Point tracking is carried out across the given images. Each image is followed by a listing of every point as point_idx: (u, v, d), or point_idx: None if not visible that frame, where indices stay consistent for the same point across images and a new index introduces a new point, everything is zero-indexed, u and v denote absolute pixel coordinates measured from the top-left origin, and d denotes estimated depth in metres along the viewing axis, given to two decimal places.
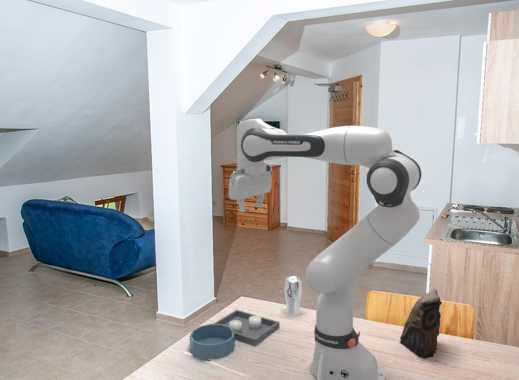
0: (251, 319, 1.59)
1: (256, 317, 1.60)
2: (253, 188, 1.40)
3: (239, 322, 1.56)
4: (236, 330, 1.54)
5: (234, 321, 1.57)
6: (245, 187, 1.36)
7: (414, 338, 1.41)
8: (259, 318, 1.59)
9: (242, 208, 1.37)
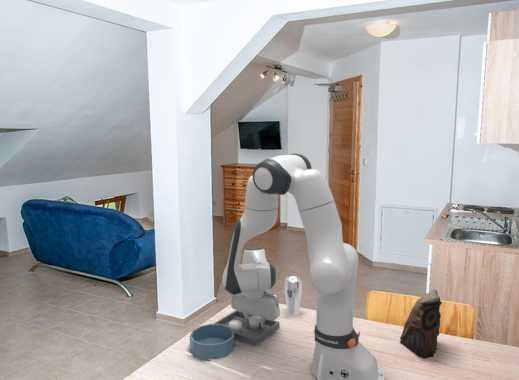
0: (251, 319, 1.59)
1: (256, 317, 1.60)
2: None
3: (239, 322, 1.56)
4: (236, 330, 1.54)
5: (234, 321, 1.57)
6: None
7: (414, 338, 1.41)
8: (259, 318, 1.59)
9: (263, 323, 1.58)
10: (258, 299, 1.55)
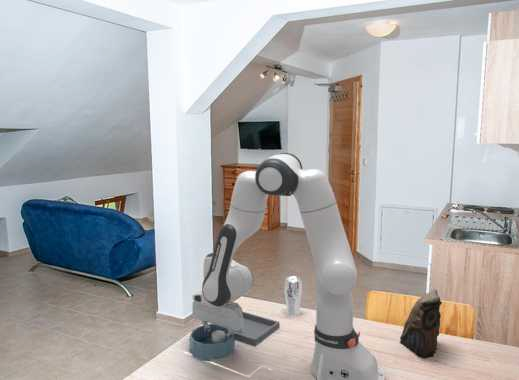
0: (214, 334, 1.47)
1: (220, 332, 1.48)
2: None
3: None
4: None
5: None
6: None
7: (414, 338, 1.41)
8: (223, 333, 1.47)
9: (231, 335, 1.45)
10: (220, 308, 1.43)
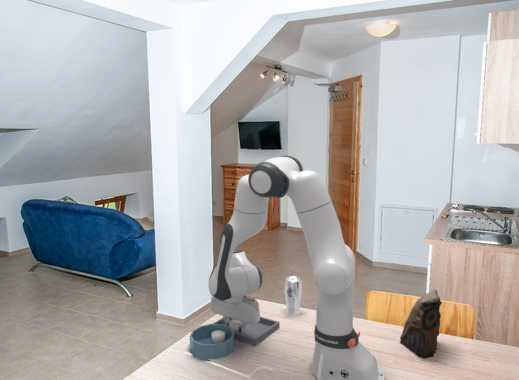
0: (214, 334, 1.47)
1: (220, 332, 1.48)
2: None
3: (239, 322, 1.56)
4: (236, 330, 1.54)
5: (234, 321, 1.57)
6: None
7: (414, 338, 1.41)
8: (223, 333, 1.47)
9: (244, 327, 1.54)
10: (238, 303, 1.52)
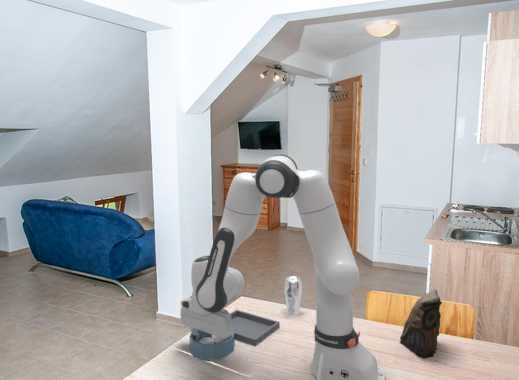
0: None
1: None
2: None
3: (211, 340, 1.43)
4: None
5: (206, 339, 1.44)
6: None
7: (414, 338, 1.41)
8: None
9: None
10: (208, 315, 1.38)
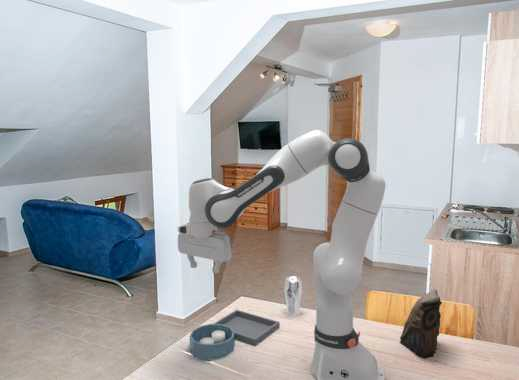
0: (214, 334, 1.47)
1: (220, 332, 1.48)
2: None
3: (211, 340, 1.43)
4: None
5: (206, 339, 1.44)
6: None
7: (414, 338, 1.41)
8: (223, 333, 1.47)
9: (218, 268, 1.36)
10: (206, 239, 1.34)
